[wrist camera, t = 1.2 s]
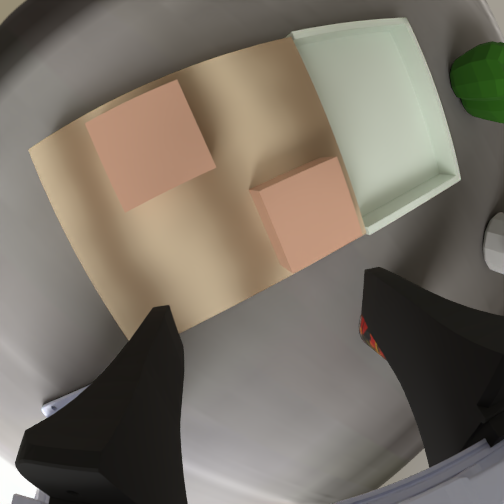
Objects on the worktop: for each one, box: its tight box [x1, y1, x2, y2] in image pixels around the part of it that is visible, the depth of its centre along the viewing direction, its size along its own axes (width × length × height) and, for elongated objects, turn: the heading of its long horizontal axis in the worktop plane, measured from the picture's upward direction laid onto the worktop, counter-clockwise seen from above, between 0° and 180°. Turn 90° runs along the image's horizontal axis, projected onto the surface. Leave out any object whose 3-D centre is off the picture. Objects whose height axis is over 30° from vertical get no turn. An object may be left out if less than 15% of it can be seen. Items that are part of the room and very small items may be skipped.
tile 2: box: [85, 80, 217, 213], centre depth 15 cm, size 5×5×2 cm
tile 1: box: [249, 156, 363, 274], centre depth 19 cm, size 5×5×2 cm
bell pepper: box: [450, 41, 504, 123], centre depth 20 cm, size 8×8×10 cm
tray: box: [285, 18, 461, 235], centre depth 22 cm, size 12×15×2 cm
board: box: [28, 37, 367, 340], centre depth 19 cm, size 17×14×3 cm
